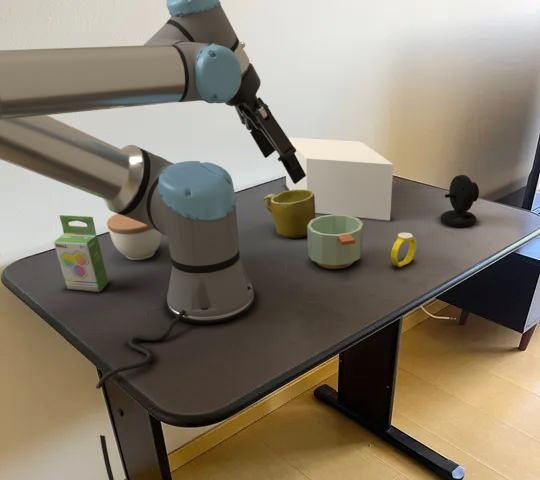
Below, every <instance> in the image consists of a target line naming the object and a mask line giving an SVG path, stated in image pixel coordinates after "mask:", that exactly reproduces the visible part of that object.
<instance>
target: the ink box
mask: <svg viewBox="0 0 540 480" xmlns="http://www.w3.org/2000/svg"><path fill="white" fill-rule="evenodd" d="M59 220H60V223H61V226H62V232H63V233H62V234H61V235H60V236H59V237H57V239H55V240H54V241H53V245H54V248H55V252H56V255H57V258H58V261H59V265H60V269H61V271H62V275H63V278H64V281H65V285H66V288H67V290H74V291H75V290H76V291H85V292H86V291H87V292H96V293H97V292H98V293H99V292H101V291H102V290H103V289H104V288H105V287H106V286H107V285H108V284H109V279H108V275H107V271H106V267H105V262H104V258H103V253H102V249H101V246H100V242H99V238H98V235H97V231H96V225H95V221H94V217H93V216H84V215H68V214H67V215H65V214H59ZM77 221H78V222H81V223H83V224H86V226H80V225H70V224H69V223H71V222H77Z"/></svg>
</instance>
